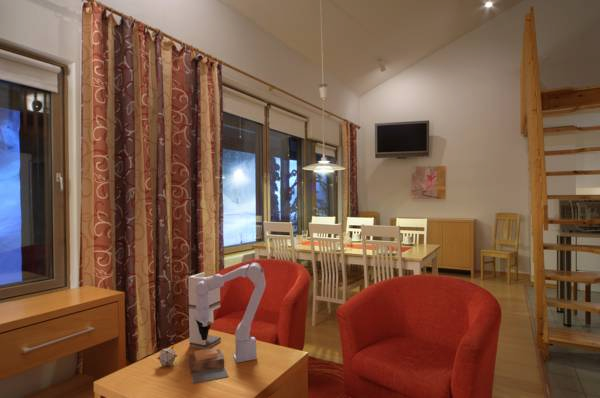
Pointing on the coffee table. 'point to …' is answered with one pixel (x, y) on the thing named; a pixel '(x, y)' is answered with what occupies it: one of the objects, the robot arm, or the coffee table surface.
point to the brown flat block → (206, 362)
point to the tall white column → (193, 326)
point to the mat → (209, 375)
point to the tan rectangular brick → (205, 354)
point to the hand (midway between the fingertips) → (203, 336)
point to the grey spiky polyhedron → (167, 357)
